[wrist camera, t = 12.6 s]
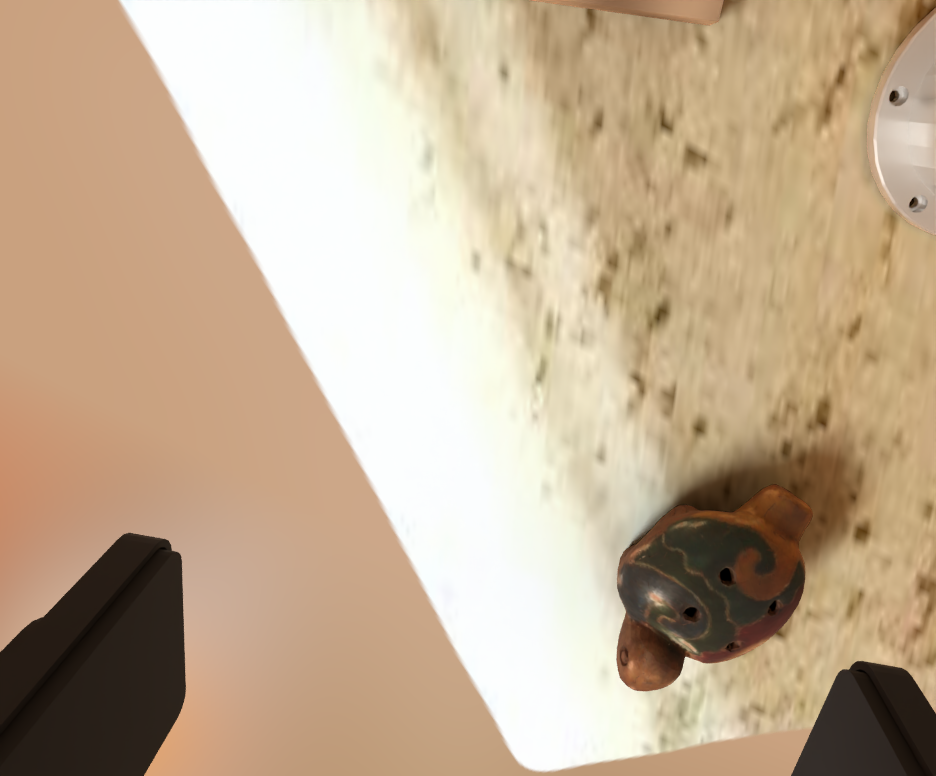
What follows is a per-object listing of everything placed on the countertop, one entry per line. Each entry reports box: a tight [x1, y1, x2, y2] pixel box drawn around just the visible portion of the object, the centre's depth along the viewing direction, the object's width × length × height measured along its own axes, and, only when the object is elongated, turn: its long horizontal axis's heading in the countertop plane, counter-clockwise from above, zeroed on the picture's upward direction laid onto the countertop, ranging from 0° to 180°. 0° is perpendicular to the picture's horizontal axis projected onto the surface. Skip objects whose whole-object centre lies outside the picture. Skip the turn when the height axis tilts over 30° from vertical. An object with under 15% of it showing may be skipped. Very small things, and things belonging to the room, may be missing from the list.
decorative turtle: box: [617, 484, 813, 691], centre depth 43 cm, size 10×15×8 cm, turn 147°
